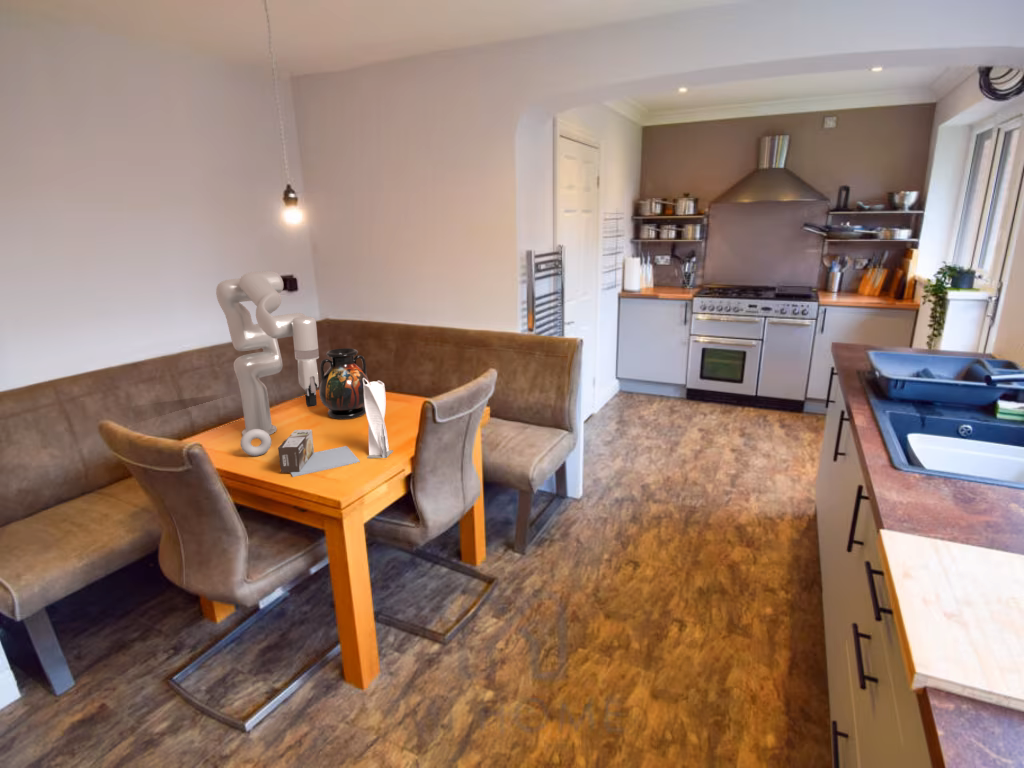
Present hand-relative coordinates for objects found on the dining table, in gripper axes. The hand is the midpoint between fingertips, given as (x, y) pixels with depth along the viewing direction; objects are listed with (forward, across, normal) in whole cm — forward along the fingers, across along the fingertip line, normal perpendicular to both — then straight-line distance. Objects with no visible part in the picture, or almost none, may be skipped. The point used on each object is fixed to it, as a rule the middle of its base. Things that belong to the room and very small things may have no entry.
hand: (311, 405), depth 192 cm
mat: (+19, +6, 0) cm, 20 cm away
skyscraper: (+19, +10, +20) cm, 29 cm away
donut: (+20, -12, -18) cm, 29 cm away
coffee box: (+14, -3, -3) cm, 15 cm away
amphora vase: (+20, -41, +22) cm, 51 cm away
